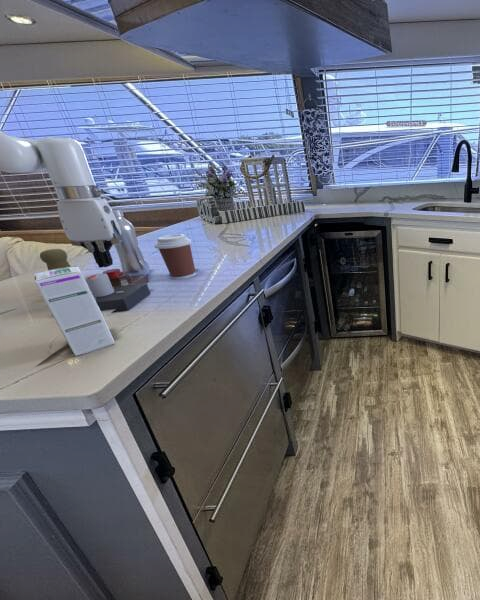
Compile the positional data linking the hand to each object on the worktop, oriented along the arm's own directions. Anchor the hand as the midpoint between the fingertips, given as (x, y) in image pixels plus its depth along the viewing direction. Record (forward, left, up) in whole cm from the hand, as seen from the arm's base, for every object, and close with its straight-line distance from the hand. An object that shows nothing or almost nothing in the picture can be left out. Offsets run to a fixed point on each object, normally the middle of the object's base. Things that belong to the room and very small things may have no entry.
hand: (106, 265), depth 86 cm
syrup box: (+14, -35, -7) cm, 38 cm away
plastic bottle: (+1, +11, -7) cm, 13 cm away
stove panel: (+5, -13, -7) cm, 15 cm away
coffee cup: (+15, +7, -7) cm, 18 cm away
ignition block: (+1, 0, -7) cm, 7 cm away
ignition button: (+1, 0, -3) cm, 3 cm away
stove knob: (+5, -13, -4) cm, 14 cm away
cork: (-15, +7, -7) cm, 18 cm away
